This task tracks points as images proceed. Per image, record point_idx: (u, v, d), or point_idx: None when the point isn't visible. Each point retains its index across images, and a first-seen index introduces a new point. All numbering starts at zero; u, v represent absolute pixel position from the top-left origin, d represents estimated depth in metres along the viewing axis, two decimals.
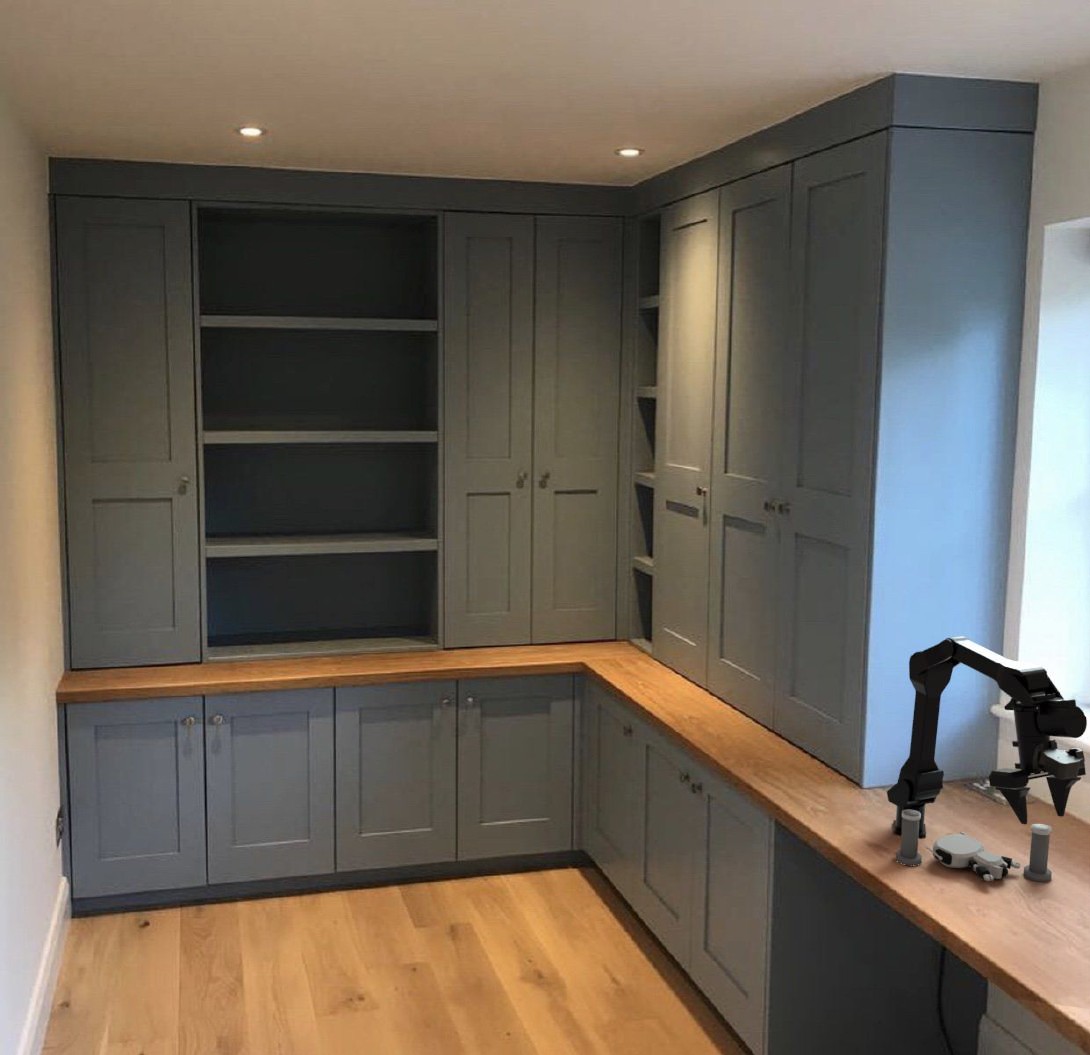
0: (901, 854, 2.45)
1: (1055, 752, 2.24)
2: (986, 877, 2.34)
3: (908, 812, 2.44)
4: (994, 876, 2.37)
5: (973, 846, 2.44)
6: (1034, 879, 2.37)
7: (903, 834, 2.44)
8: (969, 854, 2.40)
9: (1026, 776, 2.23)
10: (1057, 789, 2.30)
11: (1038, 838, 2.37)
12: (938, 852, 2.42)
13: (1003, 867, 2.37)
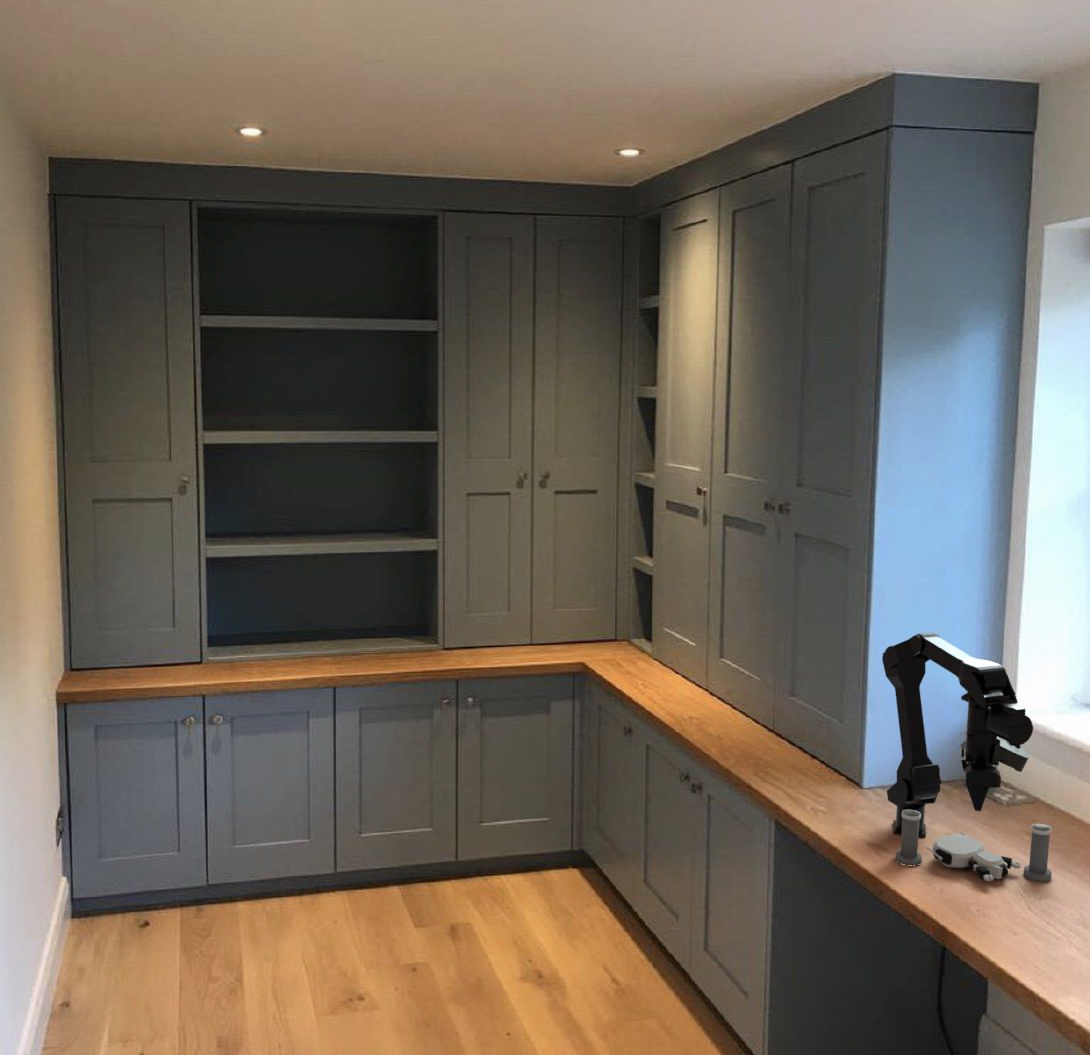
0: (901, 854, 2.45)
1: (1006, 745, 2.37)
2: (986, 877, 2.34)
3: (908, 812, 2.44)
4: (994, 876, 2.37)
5: (973, 846, 2.44)
6: (1034, 879, 2.37)
7: (903, 834, 2.44)
8: (969, 854, 2.40)
9: (999, 773, 2.32)
10: None
11: (1038, 838, 2.37)
12: (938, 852, 2.42)
13: (1003, 867, 2.37)
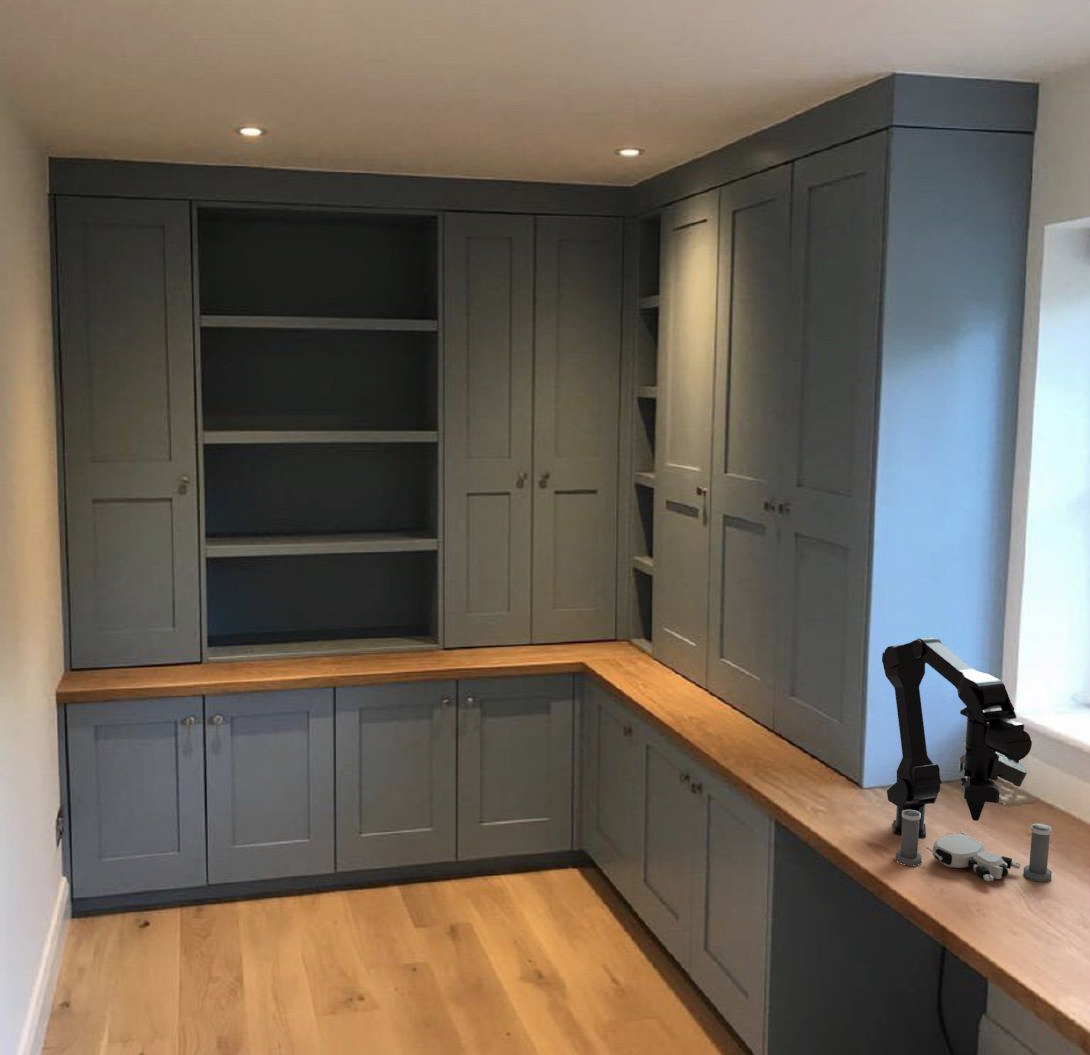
0: (901, 854, 2.45)
1: (1004, 759, 2.38)
2: (986, 877, 2.34)
3: (908, 812, 2.44)
4: (994, 876, 2.37)
5: (973, 846, 2.44)
6: (1034, 879, 2.37)
7: (903, 834, 2.44)
8: (969, 854, 2.40)
9: (998, 788, 2.33)
10: None
11: (1038, 838, 2.37)
12: (938, 852, 2.42)
13: (1003, 867, 2.37)
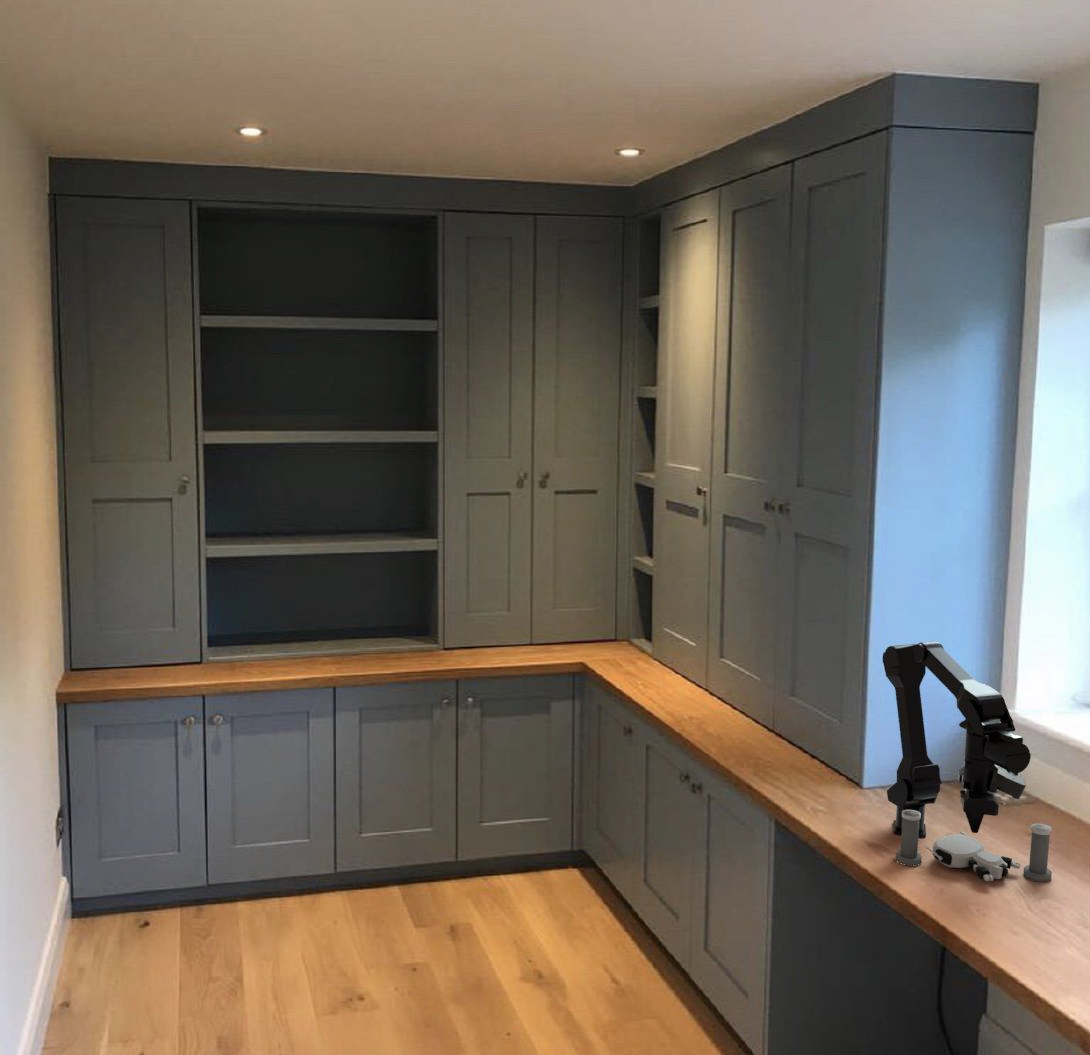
0: (901, 854, 2.45)
1: (1003, 772, 2.38)
2: (986, 877, 2.34)
3: (908, 812, 2.44)
4: (994, 876, 2.37)
5: (973, 846, 2.43)
6: (1034, 879, 2.37)
7: (903, 834, 2.44)
8: (969, 854, 2.40)
9: None
10: None
11: (1038, 838, 2.37)
12: (938, 852, 2.42)
13: (1003, 867, 2.37)
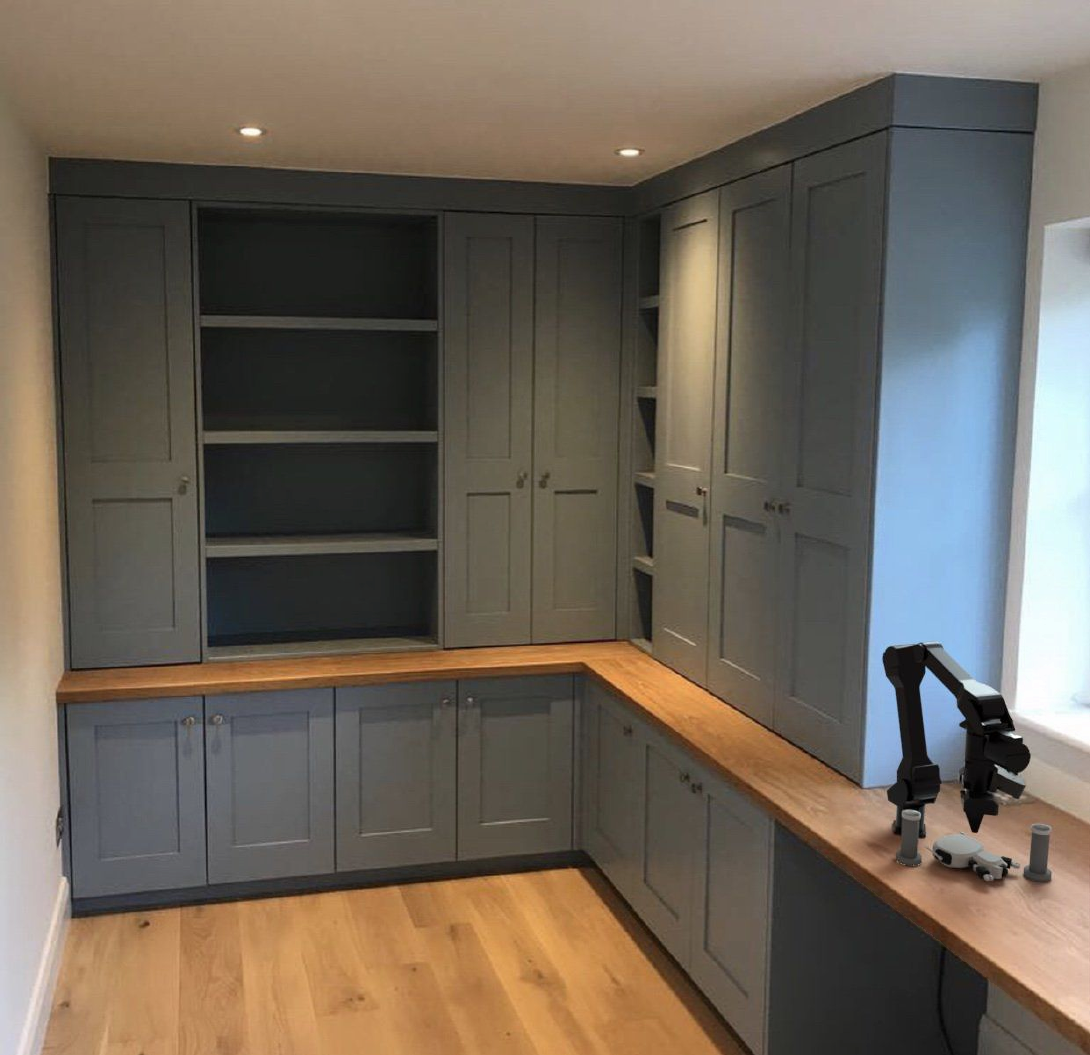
0: (901, 854, 2.45)
1: (1003, 772, 2.38)
2: (986, 877, 2.34)
3: (908, 812, 2.44)
4: (994, 876, 2.37)
5: (973, 846, 2.43)
6: (1034, 879, 2.37)
7: (903, 834, 2.44)
8: (969, 854, 2.40)
9: None
10: None
11: (1038, 838, 2.37)
12: (938, 852, 2.42)
13: (1003, 867, 2.37)
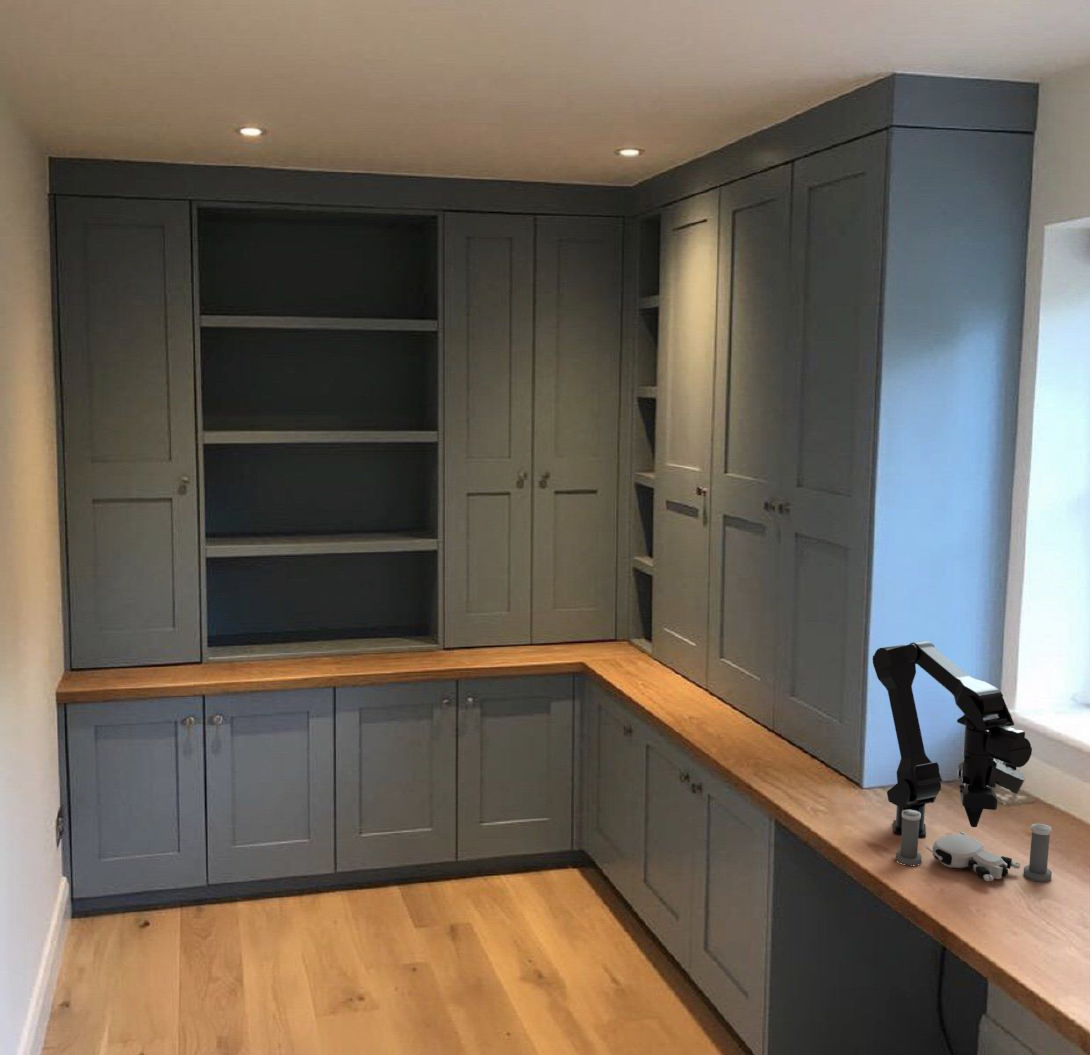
0: (901, 854, 2.45)
1: (1002, 767, 2.41)
2: (986, 877, 2.34)
3: (908, 812, 2.44)
4: (994, 876, 2.37)
5: (973, 846, 2.43)
6: (1034, 879, 2.37)
7: (903, 834, 2.44)
8: (969, 854, 2.40)
9: (995, 795, 2.36)
10: None
11: (1038, 838, 2.37)
12: (938, 852, 2.42)
13: (1003, 867, 2.37)
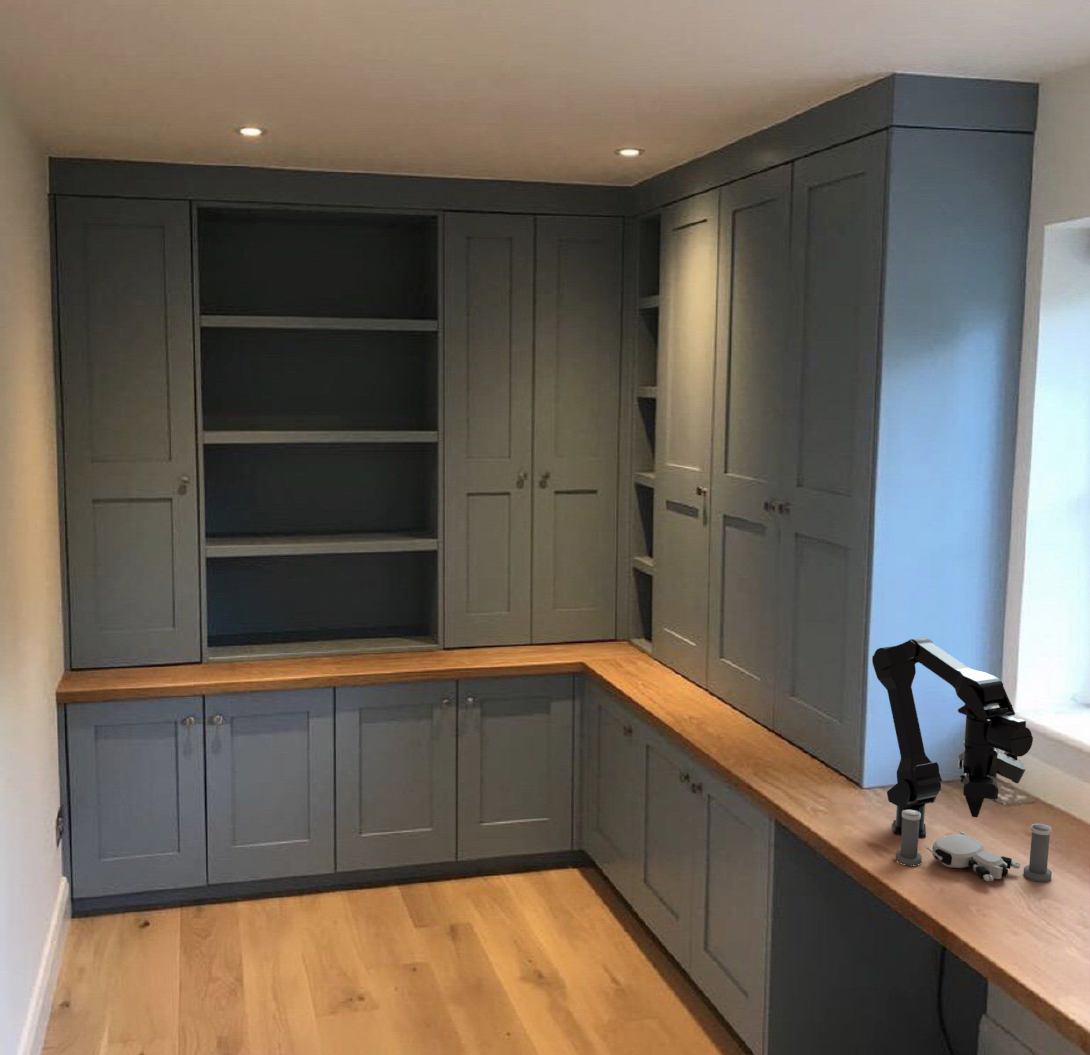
0: (901, 854, 2.45)
1: (1003, 756, 2.41)
2: (986, 877, 2.34)
3: (908, 812, 2.44)
4: (994, 876, 2.37)
5: (973, 846, 2.43)
6: (1034, 879, 2.37)
7: (903, 834, 2.44)
8: (969, 854, 2.40)
9: (996, 784, 2.36)
10: None
11: (1038, 838, 2.37)
12: (938, 852, 2.42)
13: (1003, 867, 2.37)
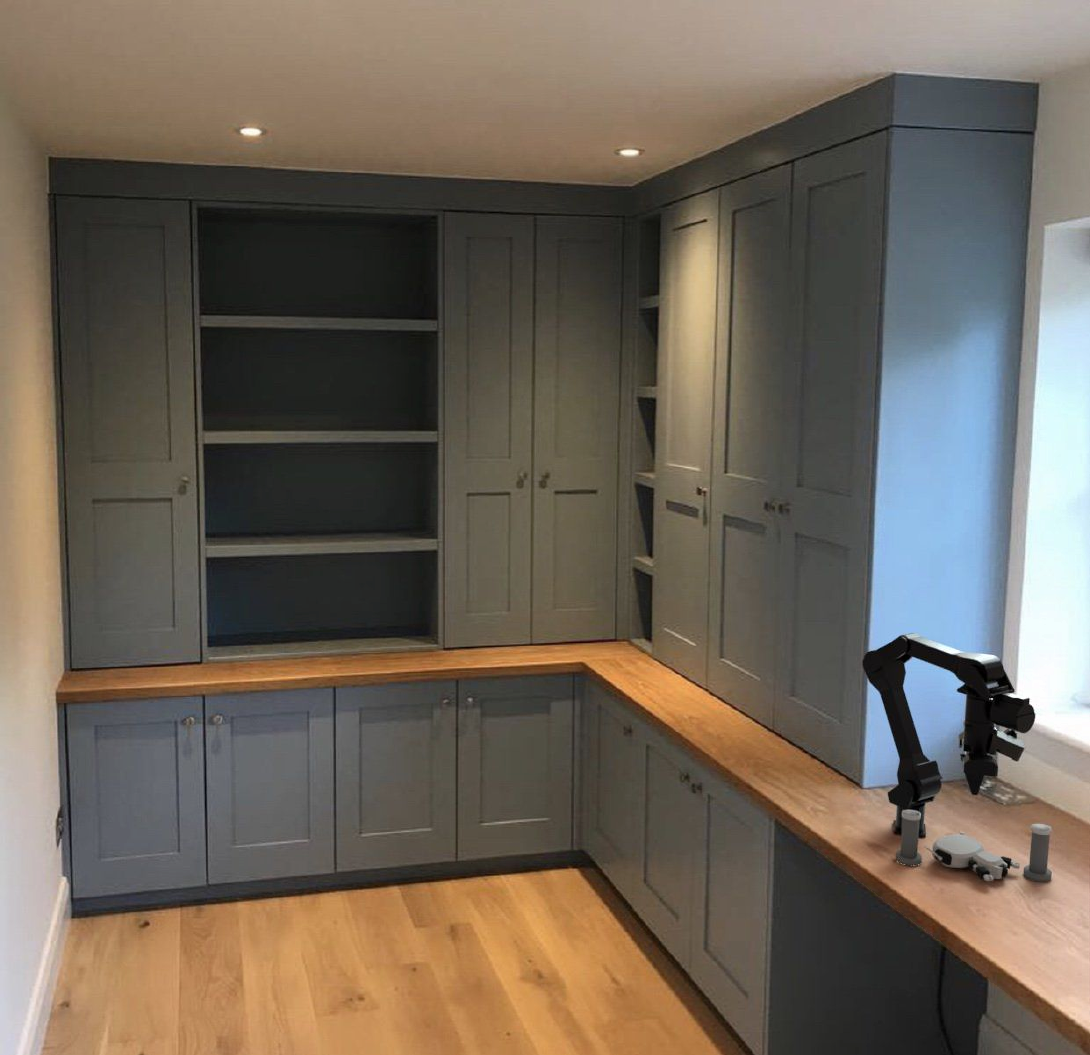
0: (901, 854, 2.45)
1: (1003, 735, 2.43)
2: (986, 877, 2.34)
3: (908, 812, 2.44)
4: (994, 876, 2.37)
5: (973, 846, 2.43)
6: (1034, 879, 2.37)
7: (903, 834, 2.44)
8: (969, 854, 2.40)
9: (996, 762, 2.38)
10: None
11: (1038, 838, 2.37)
12: (938, 852, 2.42)
13: (1003, 867, 2.37)
